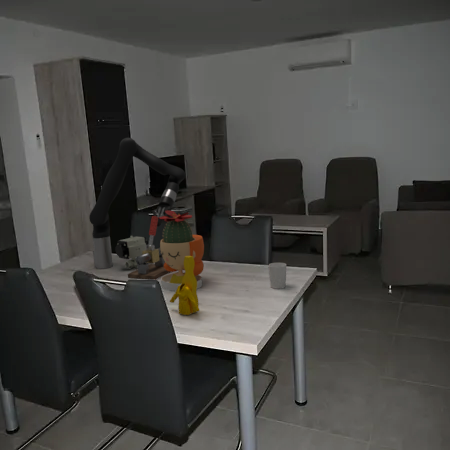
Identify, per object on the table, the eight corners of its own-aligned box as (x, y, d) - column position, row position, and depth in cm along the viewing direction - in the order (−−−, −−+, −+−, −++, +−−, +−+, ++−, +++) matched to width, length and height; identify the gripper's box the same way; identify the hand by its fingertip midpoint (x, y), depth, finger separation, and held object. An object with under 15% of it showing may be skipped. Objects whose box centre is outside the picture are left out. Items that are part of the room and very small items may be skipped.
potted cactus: (183, 293, 196) (177, 215, 190) (152, 285, 211) (145, 212, 205) (217, 281, 212) (212, 208, 206) (185, 274, 227) (180, 206, 221)
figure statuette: (166, 310, 177) (162, 256, 173) (182, 304, 182) (178, 252, 178) (195, 321, 164) (191, 263, 160) (211, 314, 169) (207, 258, 166)
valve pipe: (135, 274, 224) (133, 249, 222) (158, 264, 242) (156, 241, 240) (145, 275, 222) (143, 249, 220) (167, 265, 240) (165, 241, 237)
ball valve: (126, 272, 237) (123, 239, 234) (117, 270, 243) (113, 238, 240) (152, 264, 251) (150, 233, 248) (143, 262, 256) (140, 232, 253)
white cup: (288, 284, 201) (287, 262, 199) (285, 289, 194) (284, 267, 192) (271, 283, 204) (270, 262, 202) (267, 288, 196) (266, 266, 195)
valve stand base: (128, 277, 227) (127, 273, 227) (150, 267, 245) (150, 263, 244) (154, 280, 220) (154, 276, 220) (175, 269, 238) (175, 265, 237)
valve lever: (146, 247, 229) (151, 216, 233) (149, 248, 231) (154, 217, 235) (150, 247, 228) (155, 216, 232) (153, 248, 230) (158, 217, 234)
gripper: (154, 195, 244) (143, 221, 235) (175, 195, 239) (164, 221, 230) (160, 203, 250) (150, 229, 241) (181, 203, 244) (170, 230, 235)
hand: (157, 225), depth 235 cm, fingers closed
